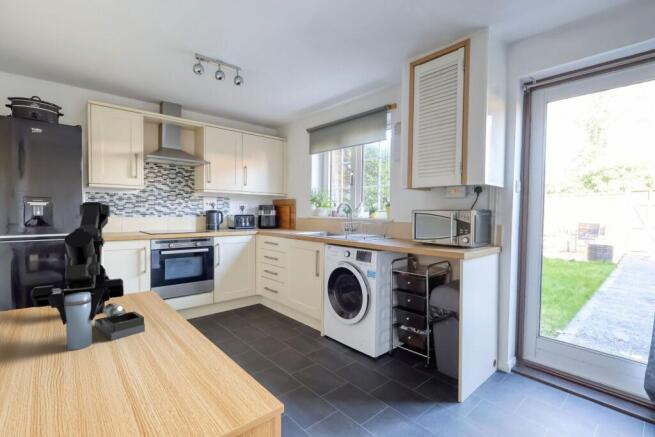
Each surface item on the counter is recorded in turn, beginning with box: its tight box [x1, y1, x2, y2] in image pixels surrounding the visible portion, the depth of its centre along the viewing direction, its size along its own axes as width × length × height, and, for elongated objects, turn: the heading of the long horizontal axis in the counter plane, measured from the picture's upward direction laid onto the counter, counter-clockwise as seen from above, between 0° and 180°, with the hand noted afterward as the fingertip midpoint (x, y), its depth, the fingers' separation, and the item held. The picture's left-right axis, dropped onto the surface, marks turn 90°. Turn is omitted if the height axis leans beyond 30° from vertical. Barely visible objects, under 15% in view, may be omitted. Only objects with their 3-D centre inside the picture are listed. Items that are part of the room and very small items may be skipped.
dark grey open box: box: [94, 302, 146, 342], centre depth 88 cm, size 15×8×6 cm, turn 51°
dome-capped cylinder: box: [65, 292, 93, 351], centre depth 78 cm, size 5×5×13 cm
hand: (77, 321), depth 76 cm, fingers closed on dome-capped cylinder, 5 cm apart
